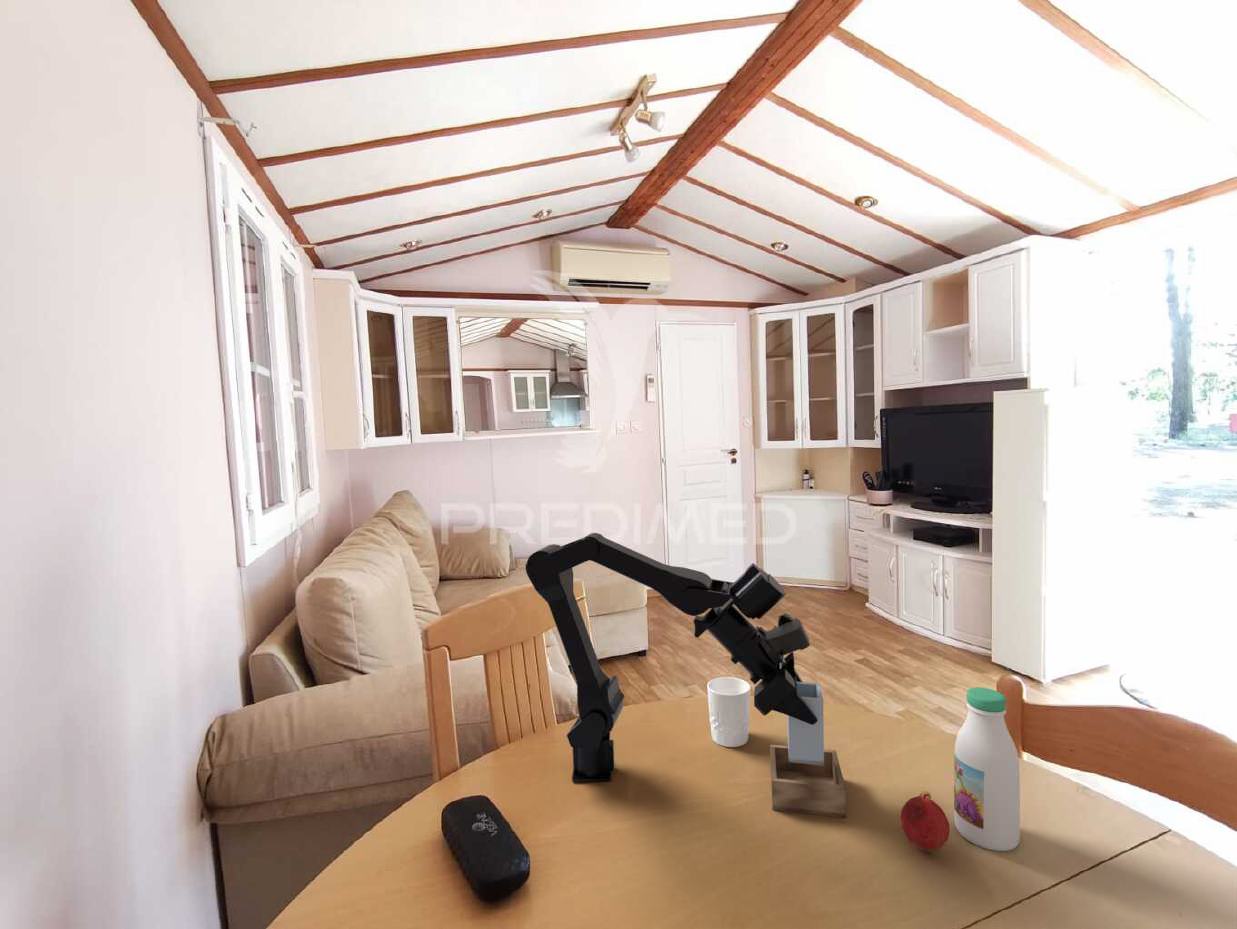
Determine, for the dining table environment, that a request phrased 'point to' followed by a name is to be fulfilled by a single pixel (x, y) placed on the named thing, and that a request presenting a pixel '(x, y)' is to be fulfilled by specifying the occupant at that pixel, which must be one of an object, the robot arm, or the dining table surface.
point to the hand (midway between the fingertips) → (813, 712)
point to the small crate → (807, 729)
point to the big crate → (807, 784)
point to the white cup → (729, 711)
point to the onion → (924, 822)
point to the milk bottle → (987, 775)
